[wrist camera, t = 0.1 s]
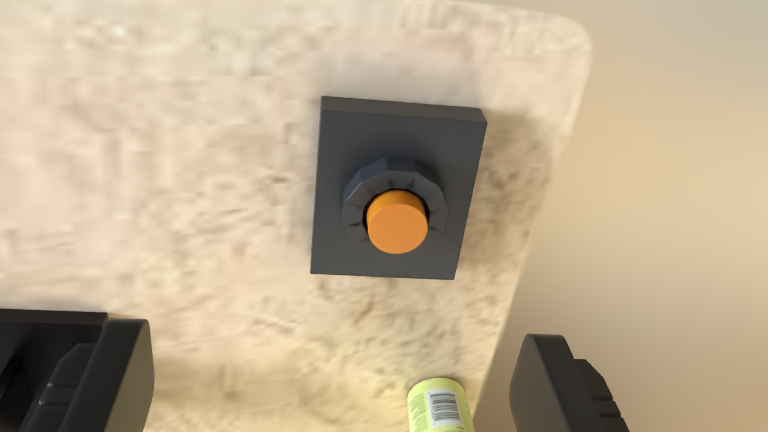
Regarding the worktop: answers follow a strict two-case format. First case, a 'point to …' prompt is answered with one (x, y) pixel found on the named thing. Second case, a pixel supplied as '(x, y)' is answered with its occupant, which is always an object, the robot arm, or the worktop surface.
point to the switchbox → (393, 183)
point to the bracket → (36, 356)
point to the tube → (439, 407)
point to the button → (396, 221)
